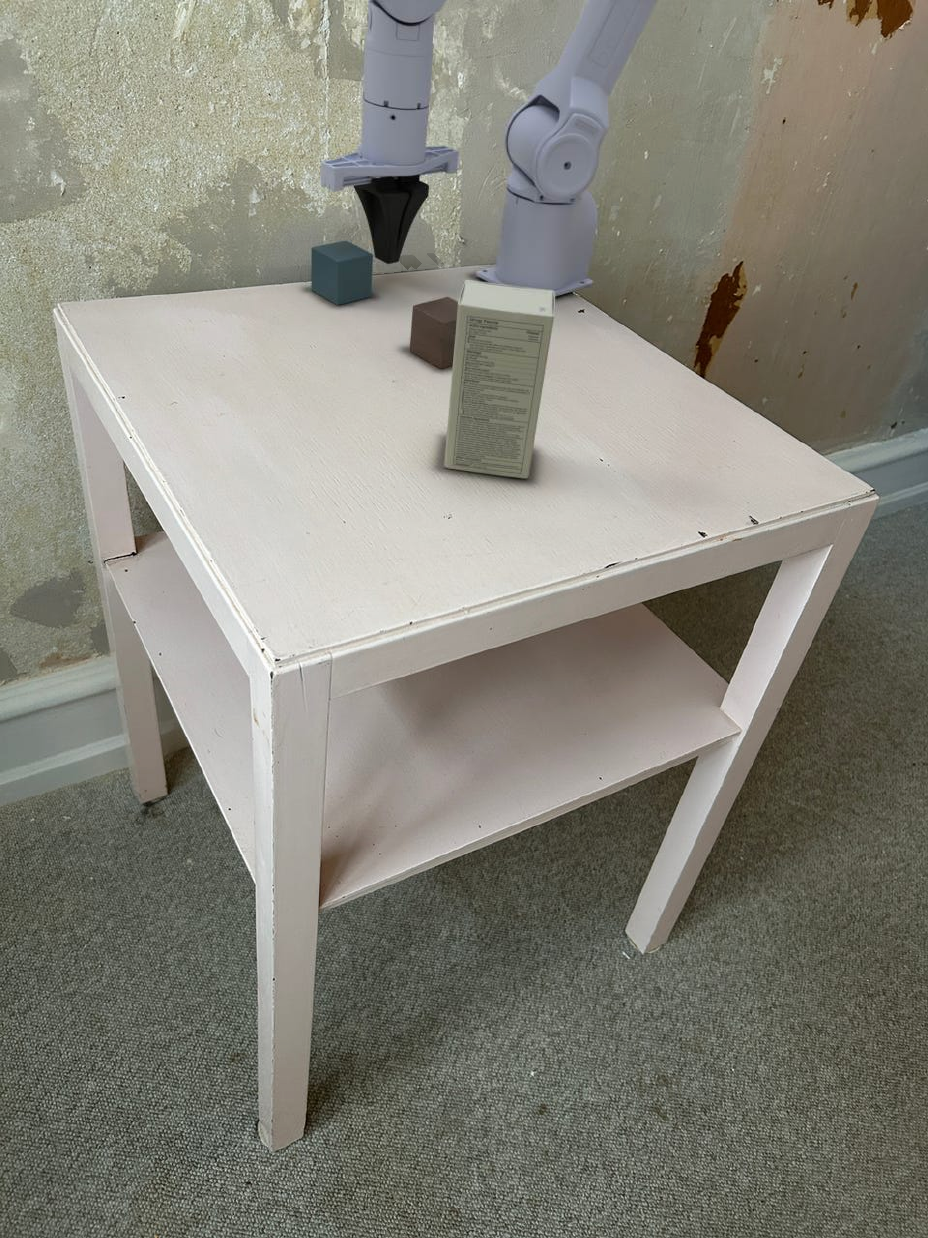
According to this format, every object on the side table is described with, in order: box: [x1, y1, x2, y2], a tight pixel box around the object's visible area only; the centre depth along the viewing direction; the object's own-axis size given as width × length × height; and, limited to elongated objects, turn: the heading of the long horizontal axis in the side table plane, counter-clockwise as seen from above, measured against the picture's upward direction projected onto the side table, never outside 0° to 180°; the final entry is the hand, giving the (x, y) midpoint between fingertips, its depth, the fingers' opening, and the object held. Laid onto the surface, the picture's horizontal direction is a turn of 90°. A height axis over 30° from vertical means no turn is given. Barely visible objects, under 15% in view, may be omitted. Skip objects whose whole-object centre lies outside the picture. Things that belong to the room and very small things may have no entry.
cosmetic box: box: [443, 279, 556, 479], centre depth 64 cm, size 6×4×12 cm
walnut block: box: [409, 296, 459, 370], centre depth 79 cm, size 4×4×4 cm
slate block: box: [310, 240, 374, 306], centre depth 87 cm, size 4×4×4 cm
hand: (386, 259), depth 90 cm, fingers closed
